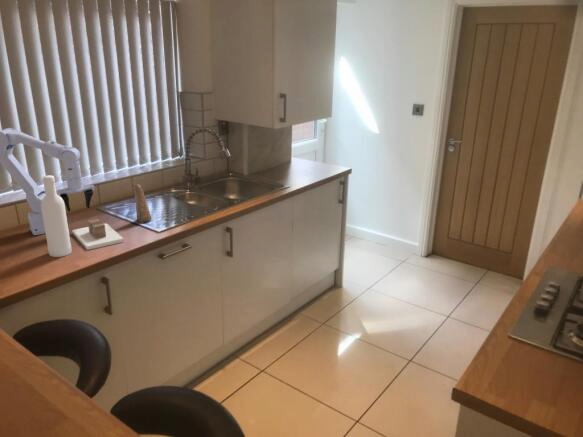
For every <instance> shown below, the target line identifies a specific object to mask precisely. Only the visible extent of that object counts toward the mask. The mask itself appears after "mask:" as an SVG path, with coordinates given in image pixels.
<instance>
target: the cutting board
mask: <svg viewBox="0 0 583 437" xmlns="http://www.w3.org/2000/svg"><path fill="white" fill-rule="evenodd" d="M103 224H104V225H105V231H106V237H103V238H98V239H95V237H94V236H93V235H92V234H91V233H90V232H89V226H86V227H82V228H81V227H80V228H76V229H72V231H71V232H72V234H73V235H74V236H75V238H76V239H77V240H78V241H79V242H80V243H81V244H82V246H83V247H84V248H85V249H86V250H87V251H89V250H94V249H99V248H102V247H103V248H104V247H106V246H112V245H116V244H120V243H124V242H125V241H124V240H125V239H124V237H122V236H121V235H120V234H119V233H118V232H117V231H116V230H115V229H113V228H112V227H111V226H110V225H109V224H108V223H103Z"/></svg>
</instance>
